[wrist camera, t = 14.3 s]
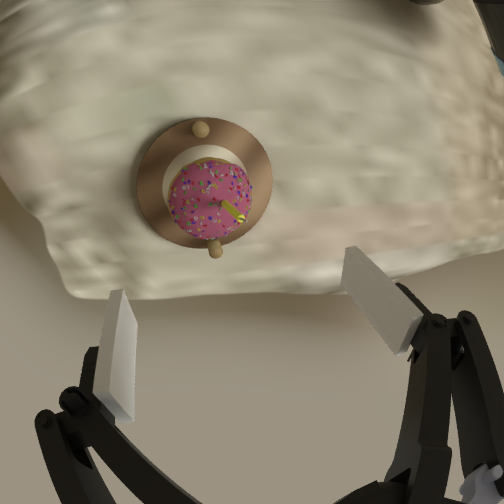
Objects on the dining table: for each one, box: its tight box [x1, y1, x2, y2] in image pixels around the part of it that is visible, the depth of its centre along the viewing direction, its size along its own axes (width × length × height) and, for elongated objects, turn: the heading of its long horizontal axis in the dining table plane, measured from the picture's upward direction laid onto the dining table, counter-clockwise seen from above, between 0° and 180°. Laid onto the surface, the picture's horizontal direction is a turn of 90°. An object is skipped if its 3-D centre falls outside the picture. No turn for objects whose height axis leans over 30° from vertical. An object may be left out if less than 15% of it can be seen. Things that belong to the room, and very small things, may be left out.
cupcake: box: [167, 157, 253, 240], centre depth 27 cm, size 9×8×12 cm
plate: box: [137, 118, 273, 258], centre depth 31 cm, size 16×16×4 cm
